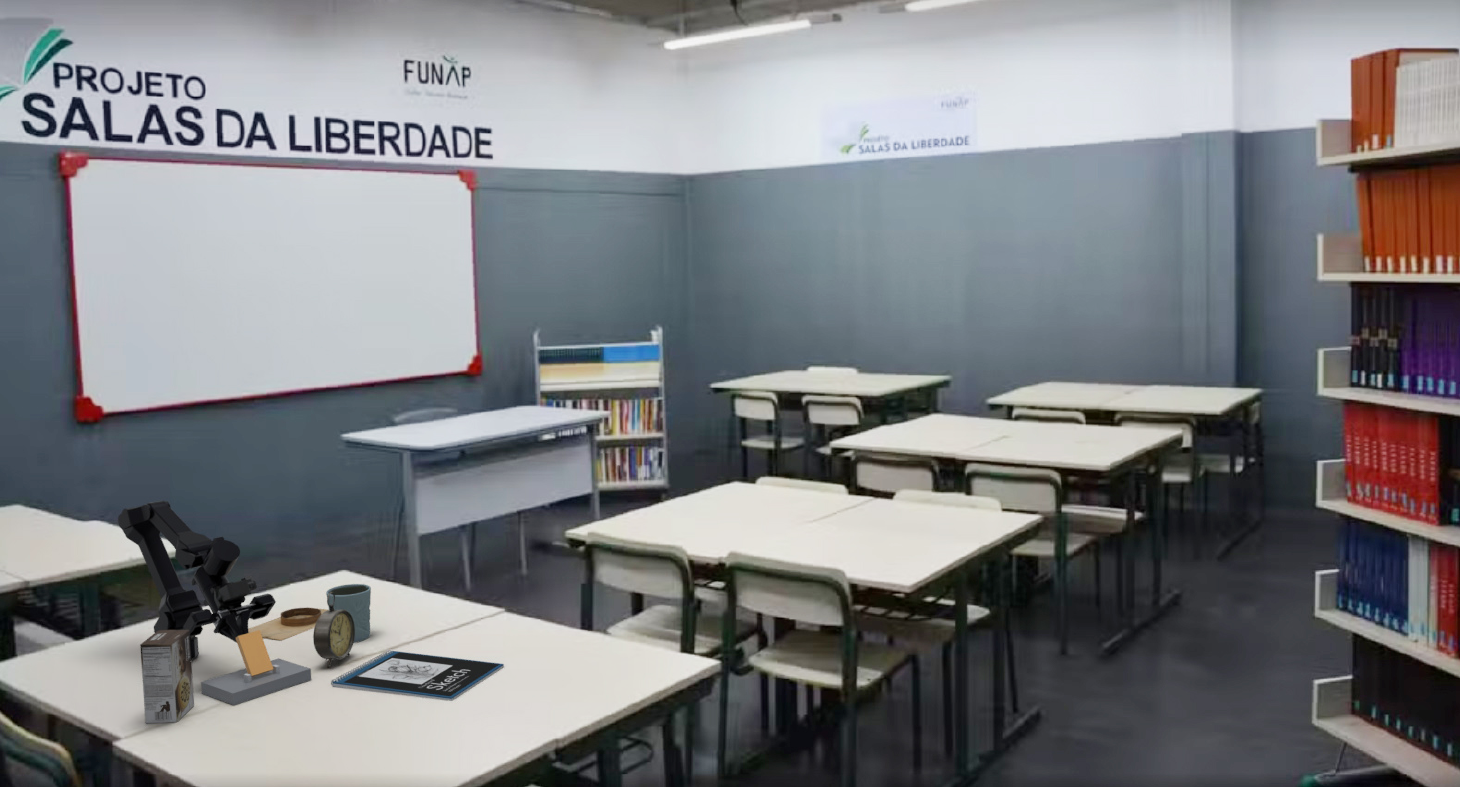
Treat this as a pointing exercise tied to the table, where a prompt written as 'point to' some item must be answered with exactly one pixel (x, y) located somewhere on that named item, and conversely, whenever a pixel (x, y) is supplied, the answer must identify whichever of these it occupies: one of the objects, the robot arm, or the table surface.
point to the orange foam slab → (254, 653)
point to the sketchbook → (417, 675)
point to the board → (289, 623)
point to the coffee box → (167, 676)
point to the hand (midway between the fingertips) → (247, 646)
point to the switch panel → (255, 682)
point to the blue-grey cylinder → (354, 606)
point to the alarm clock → (334, 633)
